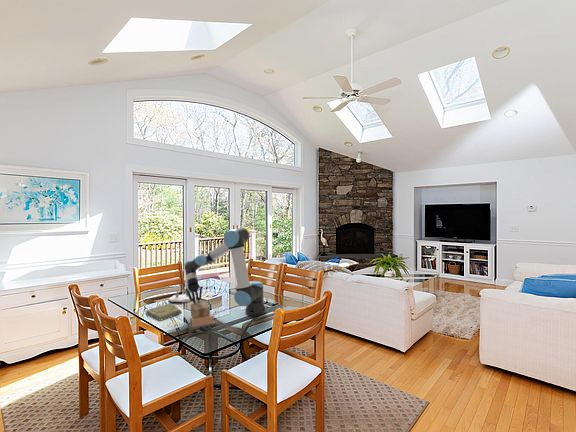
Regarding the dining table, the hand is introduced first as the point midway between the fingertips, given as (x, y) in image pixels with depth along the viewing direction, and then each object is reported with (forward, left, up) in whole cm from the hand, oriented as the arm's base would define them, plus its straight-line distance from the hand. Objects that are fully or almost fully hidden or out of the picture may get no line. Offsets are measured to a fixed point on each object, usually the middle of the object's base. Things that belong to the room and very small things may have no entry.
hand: (197, 309), depth 220 cm
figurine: (+3, -46, -8) cm, 46 cm away
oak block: (0, +7, -6) cm, 9 cm away
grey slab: (0, +4, -7) cm, 8 cm away
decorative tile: (+19, -23, -8) cm, 31 cm away
